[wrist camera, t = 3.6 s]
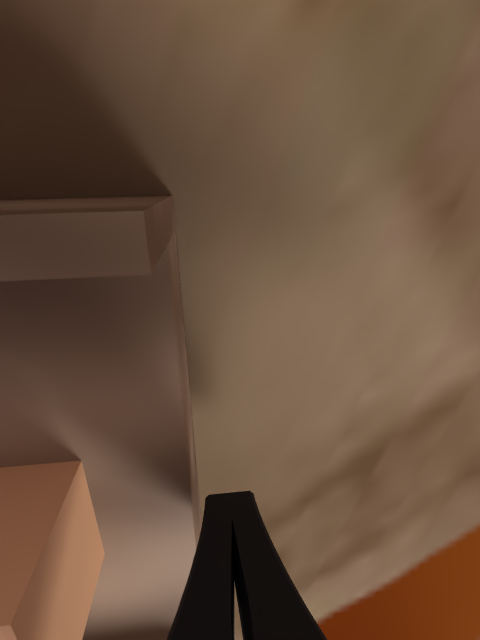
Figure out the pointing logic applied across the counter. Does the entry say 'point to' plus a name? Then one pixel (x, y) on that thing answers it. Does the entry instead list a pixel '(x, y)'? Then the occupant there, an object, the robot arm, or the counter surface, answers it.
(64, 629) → the terracotta block
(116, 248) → the open tray box
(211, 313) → the counter surface
